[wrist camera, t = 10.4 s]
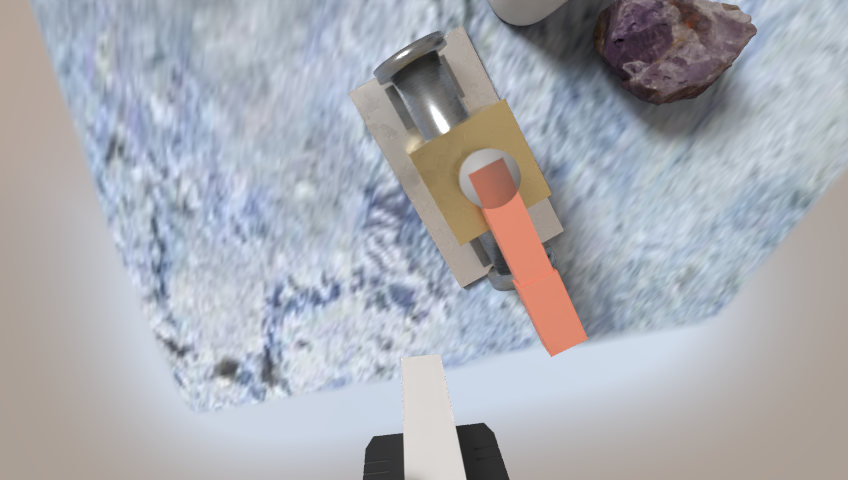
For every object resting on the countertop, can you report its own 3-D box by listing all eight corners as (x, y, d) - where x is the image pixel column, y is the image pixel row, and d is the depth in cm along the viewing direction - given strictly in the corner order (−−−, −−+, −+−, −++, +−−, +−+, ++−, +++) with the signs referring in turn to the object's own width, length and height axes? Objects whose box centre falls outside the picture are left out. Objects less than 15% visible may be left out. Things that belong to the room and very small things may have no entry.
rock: (592, 0, 42) (581, 110, 44) (624, -37, 33) (608, 100, 35) (721, 1, 41) (703, 113, 43) (788, -37, 32) (761, 104, 34)
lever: (448, 164, 31) (452, 166, 29) (499, 138, 30) (507, 138, 28) (536, 347, 34) (545, 359, 32) (582, 324, 34) (594, 336, 32)
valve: (460, 27, 40) (488, -18, 28) (560, 228, 45) (619, 262, 33) (349, 94, 41) (330, 77, 29) (460, 284, 46) (482, 336, 34)
